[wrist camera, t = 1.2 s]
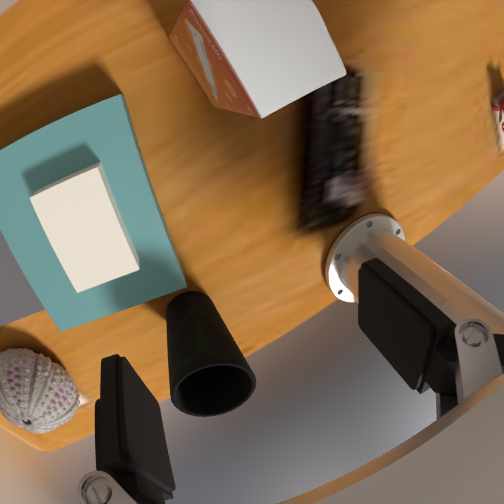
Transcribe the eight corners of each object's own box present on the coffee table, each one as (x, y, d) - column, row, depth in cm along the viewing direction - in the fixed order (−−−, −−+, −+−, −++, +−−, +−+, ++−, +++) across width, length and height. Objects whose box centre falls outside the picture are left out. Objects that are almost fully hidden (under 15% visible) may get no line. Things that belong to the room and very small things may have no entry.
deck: (181, 266, 33) (187, 287, 30) (66, 308, 31) (60, 331, 28) (123, 94, 24) (120, 94, 21) (-9, 156, 22) (-27, 166, 18)
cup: (186, 270, 34) (211, 350, 24) (236, 304, 38) (273, 379, 28) (143, 318, 35) (153, 402, 25) (193, 345, 39) (217, 424, 29)
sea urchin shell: (45, 415, 37) (42, 458, 30) (-24, 363, 30) (-38, 408, 23) (99, 383, 37) (99, 432, 31) (22, 321, 30) (7, 370, 23)
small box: (166, 38, 23) (185, -5, 12) (228, 6, 23) (288, -44, 12) (212, 109, 27) (262, 121, 16) (270, 76, 27) (351, 73, 16)
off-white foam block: (139, 258, 27) (139, 269, 25) (80, 280, 26) (77, 292, 24) (101, 161, 22) (97, 167, 21) (36, 190, 21) (29, 197, 20)
